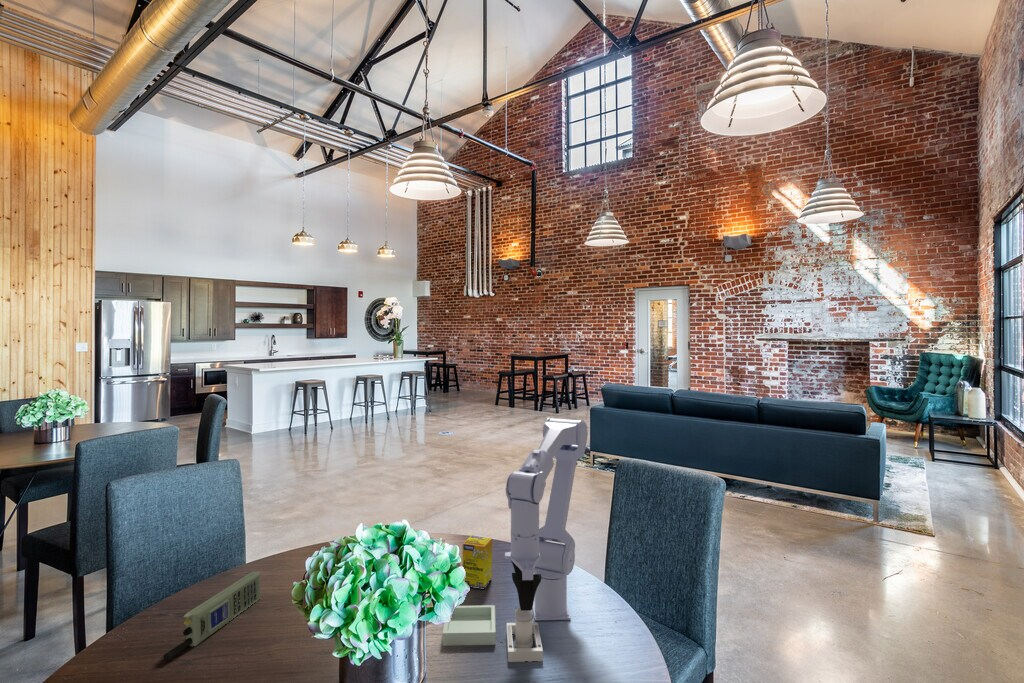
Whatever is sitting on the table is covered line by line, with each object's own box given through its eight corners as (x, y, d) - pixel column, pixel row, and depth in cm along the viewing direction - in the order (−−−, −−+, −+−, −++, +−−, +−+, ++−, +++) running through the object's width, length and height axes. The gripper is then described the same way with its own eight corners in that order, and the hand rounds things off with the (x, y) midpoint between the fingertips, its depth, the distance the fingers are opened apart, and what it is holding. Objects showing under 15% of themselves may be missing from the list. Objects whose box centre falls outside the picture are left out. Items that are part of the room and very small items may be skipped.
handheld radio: (262, 600, 120) (173, 665, 95) (250, 599, 121) (158, 664, 96) (262, 571, 120) (172, 629, 96) (249, 571, 121) (157, 628, 96)
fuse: (514, 641, 104) (514, 606, 104) (531, 640, 104) (532, 606, 104) (515, 651, 100) (515, 616, 100) (533, 651, 100) (533, 616, 100)
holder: (506, 632, 107) (506, 621, 107) (537, 631, 107) (537, 620, 107) (508, 662, 97) (508, 650, 97) (542, 661, 97) (542, 649, 97)
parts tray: (447, 617, 113) (447, 606, 113) (494, 616, 113) (494, 605, 113) (442, 645, 102) (442, 633, 102) (495, 644, 102) (495, 632, 102)
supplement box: (461, 587, 127) (462, 543, 127) (470, 576, 132) (470, 534, 132) (484, 590, 125) (484, 546, 125) (492, 580, 130) (492, 537, 131)
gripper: (503, 519, 109) (503, 582, 109) (506, 546, 95) (506, 619, 94) (536, 519, 109) (536, 582, 109) (544, 546, 95) (543, 618, 95)
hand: (524, 599), depth 102 cm, fingers open, 7 cm apart
